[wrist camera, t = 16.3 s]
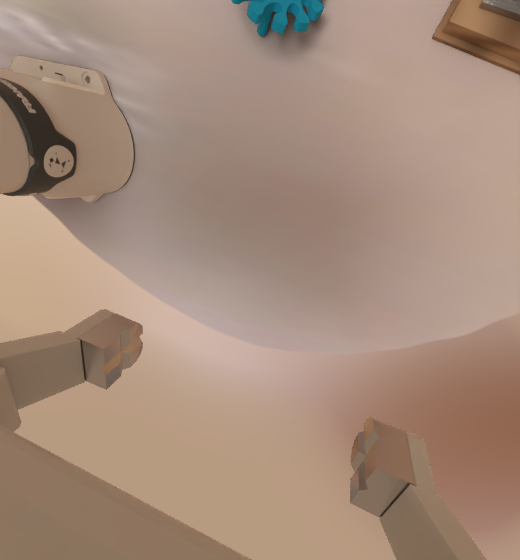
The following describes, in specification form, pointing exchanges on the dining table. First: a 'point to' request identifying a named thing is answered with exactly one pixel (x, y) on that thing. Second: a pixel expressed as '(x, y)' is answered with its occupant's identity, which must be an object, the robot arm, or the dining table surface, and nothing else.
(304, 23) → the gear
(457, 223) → the dining table surface
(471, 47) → the stand
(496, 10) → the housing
